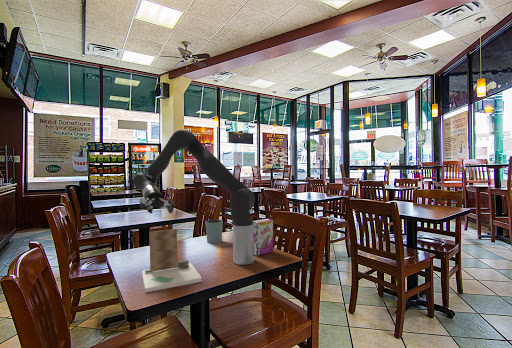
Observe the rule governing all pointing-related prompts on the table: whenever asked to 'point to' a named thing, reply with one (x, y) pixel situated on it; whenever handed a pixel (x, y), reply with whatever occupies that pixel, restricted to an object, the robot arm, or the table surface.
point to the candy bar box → (263, 236)
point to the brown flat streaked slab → (164, 251)
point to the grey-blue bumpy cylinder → (214, 231)
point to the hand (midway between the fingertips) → (161, 211)
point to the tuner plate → (170, 278)
